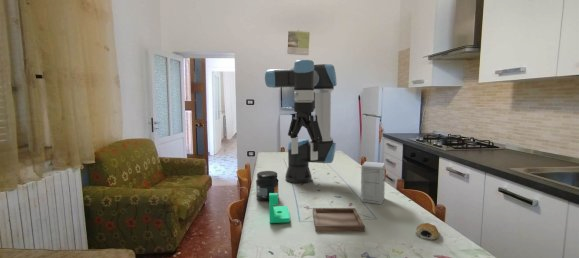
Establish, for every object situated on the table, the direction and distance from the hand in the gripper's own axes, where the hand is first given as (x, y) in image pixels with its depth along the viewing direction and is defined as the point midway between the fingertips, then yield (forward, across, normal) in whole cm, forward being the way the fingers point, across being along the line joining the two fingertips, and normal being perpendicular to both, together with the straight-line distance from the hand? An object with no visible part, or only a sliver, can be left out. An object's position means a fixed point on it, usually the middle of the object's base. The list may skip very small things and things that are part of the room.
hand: (303, 156), depth 110 cm
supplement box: (+24, +1, +38) cm, 45 cm away
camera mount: (+25, -4, -9) cm, 27 cm away
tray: (+24, +10, +8) cm, 28 cm away
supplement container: (+24, -27, -3) cm, 36 cm away
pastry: (+25, +34, +29) cm, 51 cm away
